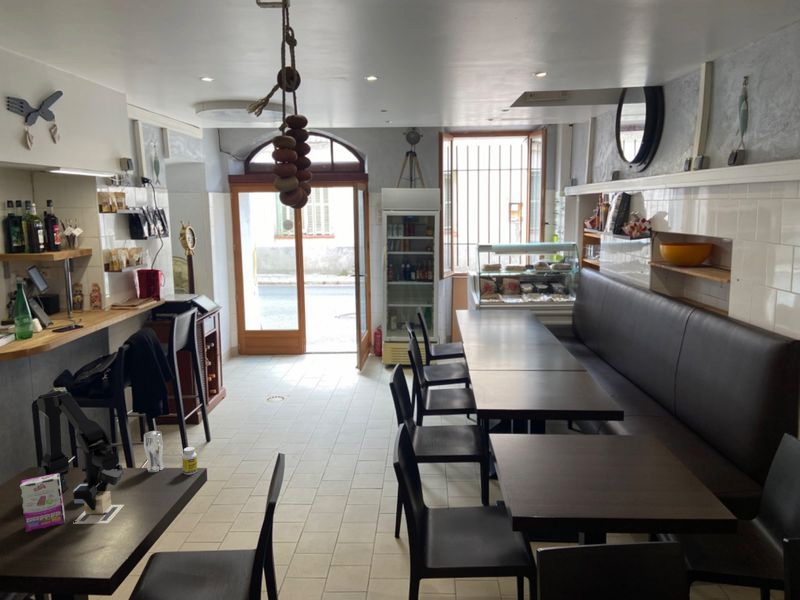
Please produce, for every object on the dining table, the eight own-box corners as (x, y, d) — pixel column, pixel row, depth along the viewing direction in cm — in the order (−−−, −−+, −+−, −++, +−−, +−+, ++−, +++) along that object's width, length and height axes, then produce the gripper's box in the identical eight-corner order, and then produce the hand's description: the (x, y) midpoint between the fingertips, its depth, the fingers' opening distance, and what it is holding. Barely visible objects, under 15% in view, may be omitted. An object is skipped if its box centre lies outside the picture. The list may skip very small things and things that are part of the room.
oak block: (85, 513, 198) (84, 500, 197) (94, 504, 204) (92, 491, 203) (103, 513, 198) (101, 499, 197) (111, 504, 204) (110, 491, 203)
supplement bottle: (189, 476, 229) (187, 452, 227) (180, 473, 232) (178, 449, 230) (200, 470, 233) (199, 447, 232) (191, 467, 236) (190, 444, 234)
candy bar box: (65, 516, 200) (60, 472, 197) (64, 523, 196) (59, 478, 193) (26, 525, 195) (20, 479, 192) (25, 532, 191) (19, 486, 188)
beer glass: (142, 470, 234) (139, 435, 231) (156, 463, 240) (153, 429, 237) (154, 474, 231) (151, 438, 228) (168, 467, 237) (165, 432, 234)
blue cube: (74, 503, 209) (72, 490, 208) (81, 496, 214) (80, 484, 213) (88, 503, 209) (86, 490, 208) (95, 496, 214) (94, 483, 213)
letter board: (72, 523, 196) (72, 523, 196) (90, 505, 207) (90, 505, 207) (108, 523, 196) (108, 523, 196) (124, 504, 208) (124, 504, 208)
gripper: (104, 475, 189) (108, 519, 192) (129, 450, 208) (133, 491, 210) (69, 475, 189) (74, 520, 192) (98, 451, 207) (102, 491, 210)
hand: (98, 505), depth 201 cm, fingers closed on oak block, 6 cm apart
